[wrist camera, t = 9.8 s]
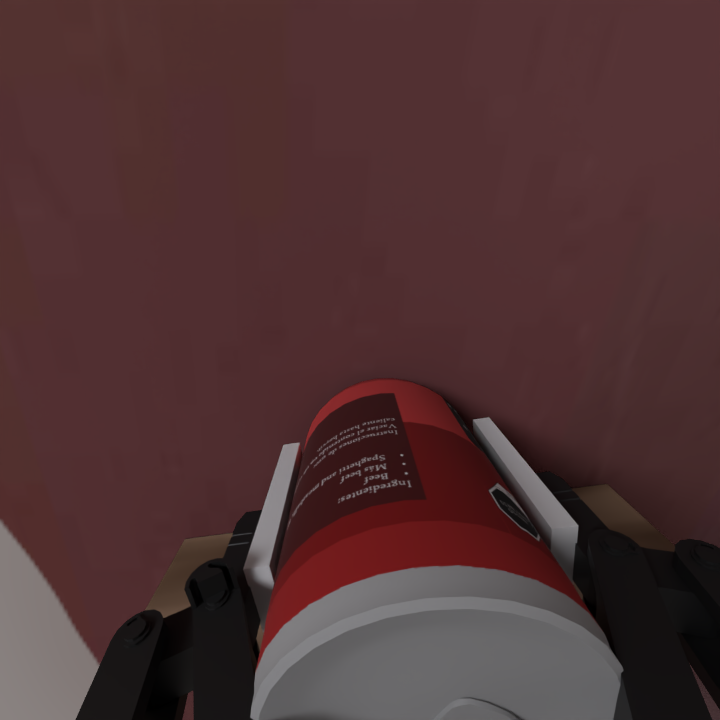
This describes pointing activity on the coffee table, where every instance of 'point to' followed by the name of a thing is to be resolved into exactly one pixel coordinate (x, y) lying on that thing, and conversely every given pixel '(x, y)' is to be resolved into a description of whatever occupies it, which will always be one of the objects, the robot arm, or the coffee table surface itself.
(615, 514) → the board
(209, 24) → the coffee table surface
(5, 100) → the coffee table surface
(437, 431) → the canned food
